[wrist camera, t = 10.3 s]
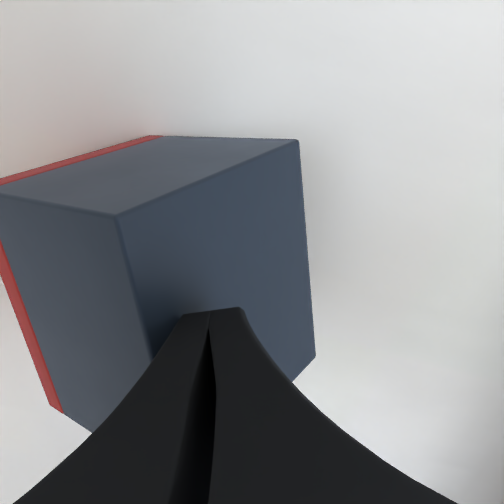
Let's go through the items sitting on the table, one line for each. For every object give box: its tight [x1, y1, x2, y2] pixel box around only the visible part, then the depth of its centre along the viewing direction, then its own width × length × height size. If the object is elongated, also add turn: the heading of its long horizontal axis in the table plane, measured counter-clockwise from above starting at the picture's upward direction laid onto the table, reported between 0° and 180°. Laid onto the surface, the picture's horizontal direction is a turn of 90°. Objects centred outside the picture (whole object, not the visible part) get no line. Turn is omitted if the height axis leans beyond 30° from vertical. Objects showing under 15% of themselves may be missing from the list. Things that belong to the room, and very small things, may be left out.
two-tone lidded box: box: [0, 135, 316, 433], centre depth 13 cm, size 7×6×6 cm
